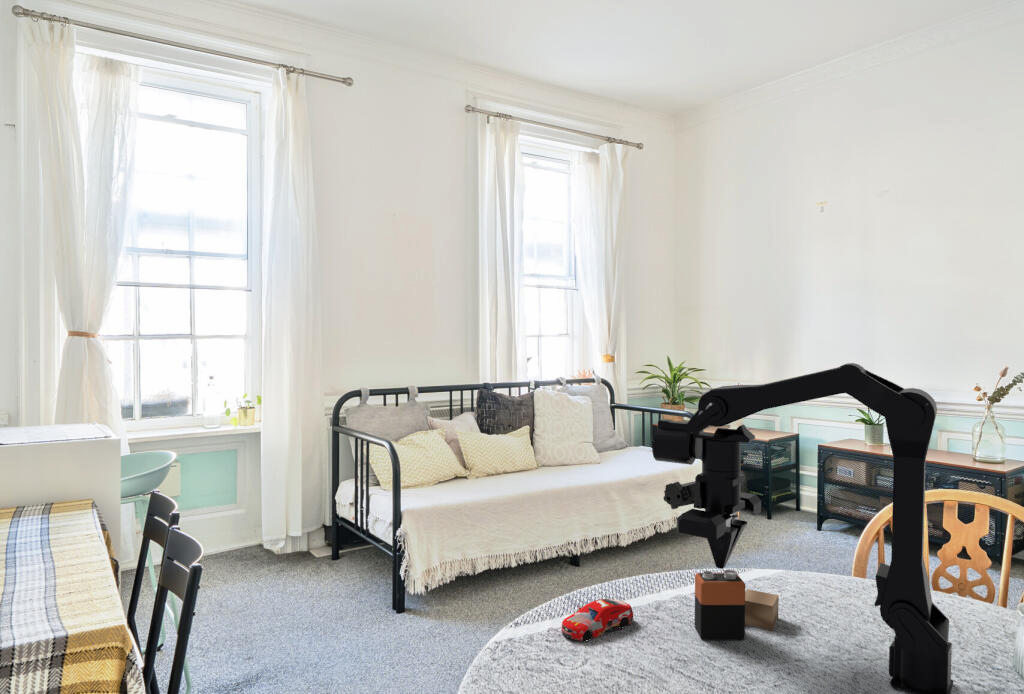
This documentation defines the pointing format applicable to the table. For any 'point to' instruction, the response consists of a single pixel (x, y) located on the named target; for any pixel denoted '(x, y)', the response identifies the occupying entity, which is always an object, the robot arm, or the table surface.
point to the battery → (720, 605)
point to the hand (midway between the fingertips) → (720, 567)
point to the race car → (597, 619)
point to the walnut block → (761, 609)
